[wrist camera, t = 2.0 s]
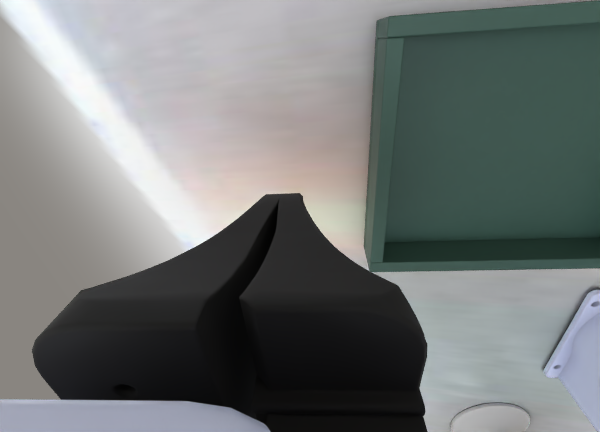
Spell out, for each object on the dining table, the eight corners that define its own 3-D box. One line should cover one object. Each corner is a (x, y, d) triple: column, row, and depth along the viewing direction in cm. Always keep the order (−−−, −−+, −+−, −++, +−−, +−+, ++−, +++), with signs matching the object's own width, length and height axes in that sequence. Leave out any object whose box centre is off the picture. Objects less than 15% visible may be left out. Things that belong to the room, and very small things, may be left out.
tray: (599, 241, 18) (636, 267, 16) (363, 246, 19) (369, 272, 17) (732, -7, 12) (821, -17, 10) (376, 20, 13) (388, 16, 11)
